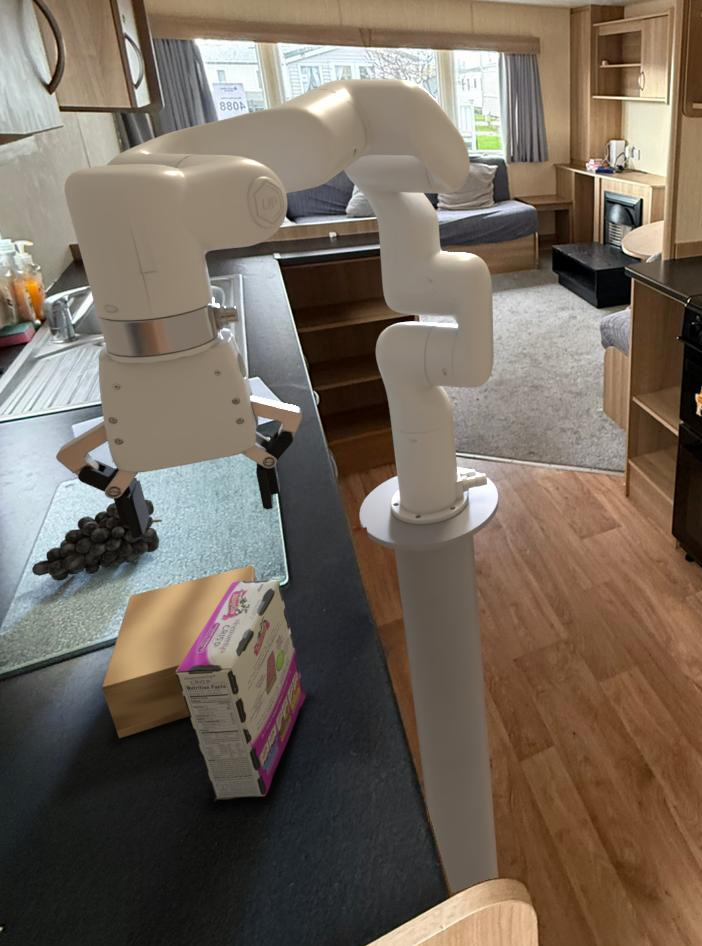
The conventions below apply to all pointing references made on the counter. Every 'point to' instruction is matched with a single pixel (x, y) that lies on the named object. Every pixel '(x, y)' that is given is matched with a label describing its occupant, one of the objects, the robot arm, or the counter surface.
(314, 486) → the counter surface
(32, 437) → the counter surface
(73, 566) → the fruit
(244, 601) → the candy bar box
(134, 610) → the wooden block
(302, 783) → the counter surface
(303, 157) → the robot arm
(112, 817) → the counter surface
